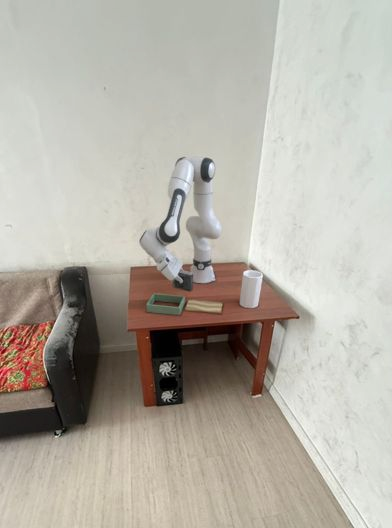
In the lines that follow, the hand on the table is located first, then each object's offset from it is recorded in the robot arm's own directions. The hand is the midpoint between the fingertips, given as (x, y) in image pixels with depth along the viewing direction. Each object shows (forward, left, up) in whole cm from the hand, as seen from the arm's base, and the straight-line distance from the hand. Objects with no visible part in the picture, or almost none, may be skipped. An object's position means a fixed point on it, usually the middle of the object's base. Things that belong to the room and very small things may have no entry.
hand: (183, 278), depth 155 cm
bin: (+2, -10, -17) cm, 20 cm away
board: (-3, +11, -17) cm, 21 cm away
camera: (0, -1, -6) cm, 6 cm away
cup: (-12, +36, -17) cm, 42 cm away
